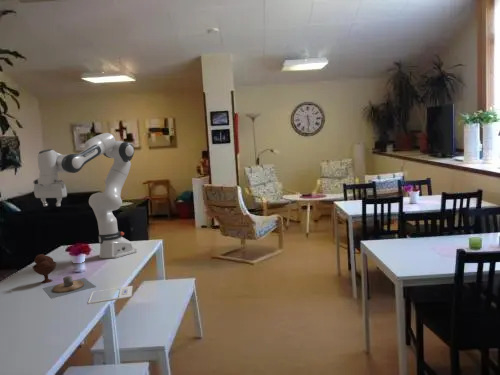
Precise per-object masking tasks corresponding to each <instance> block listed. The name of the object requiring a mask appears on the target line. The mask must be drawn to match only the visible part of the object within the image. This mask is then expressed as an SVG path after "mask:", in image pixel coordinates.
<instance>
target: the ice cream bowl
mask: <svg viewBox="0 0 500 375" xmlns="http://www.w3.org/2000/svg"><path fill="white" fill-rule="evenodd" d="M34 263H35V264H34V265H33V266H32V270H33V271H34V272H35V273H37V274H38V275H41V276H43V277H44V280H42V281H41V284H47V283H48V284H49V283H51V282H53V279H50V278H49V275H50V274H51V273H53V271H54V270H55V269H56V267H57V262H56V261H55V260H54V259H53V258H52V257H51V256H50V255H46V254H44V253H42V254H40V253H39V254H37V255H36V256H35V258H34Z"/></svg>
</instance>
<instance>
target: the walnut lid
mask: <svg viewBox="0 0 500 375" xmlns="http://www.w3.org/2000/svg"><path fill="white" fill-rule="evenodd" d="M62 279H63V282H61V283H58V285H57V284H55V285H56V286H54V287H53V291H54V292H57V293H63V292H70V291H74V290H77V289H80V288H82V287H83V286H84V282H83V281H73V276H72V275H67V276H64V277H63V278H62Z"/></svg>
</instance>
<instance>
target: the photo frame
mask: <svg viewBox="0 0 500 375" xmlns="http://www.w3.org/2000/svg"><path fill="white" fill-rule="evenodd" d="M115 289H117V290H118V287H115V288H113V290H115ZM110 290H111V288H108V289H106V291H110ZM103 291H104V289H102V290H99V292H103ZM97 292H98V290H93V291H92V292H91V294H90V297H89V300H88V302H87V304H88V305H89V303H91V304H98V303H103V302H110V301H116V300H121V299H122V300H123V299H128V298H132V295H133V285H128V286H122V287H119V294H118V297H115V298H108V299H101V300H94V301H91V300H92V298H93V295H94V293H97Z"/></svg>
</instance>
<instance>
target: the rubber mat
mask: <svg viewBox="0 0 500 375" xmlns="http://www.w3.org/2000/svg"><path fill="white" fill-rule="evenodd" d="M72 280H73V279H72ZM73 281H83V282H84V286H83V287H82V288H80V289H77V290H74V291H70V292H63V293H57V292H54V291H53V287H54V286H56V285H58V284H59V283H58V284H53V285H50V286H44V287H42V290H43V291H44V292H45V293H46V294H47V295H48V297H49V298H50V299H56V298H58V297H62V296H66V295H70V294H74V293H78V292H82V291H85V290H88V289H89V290H90V289H93V288H96V287H97V286H96V285H95V284H93V283H92V282H91V281H89V280H88V279H87V278H85V277H82V278H81V277H80V278H78V279H74V280H73Z"/></svg>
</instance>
